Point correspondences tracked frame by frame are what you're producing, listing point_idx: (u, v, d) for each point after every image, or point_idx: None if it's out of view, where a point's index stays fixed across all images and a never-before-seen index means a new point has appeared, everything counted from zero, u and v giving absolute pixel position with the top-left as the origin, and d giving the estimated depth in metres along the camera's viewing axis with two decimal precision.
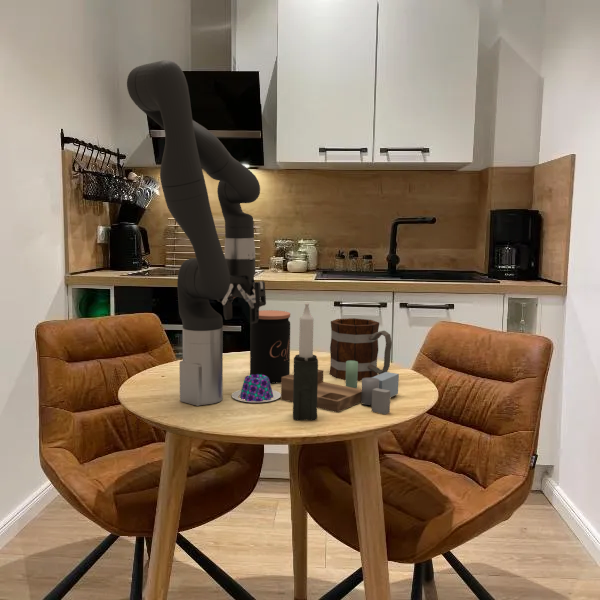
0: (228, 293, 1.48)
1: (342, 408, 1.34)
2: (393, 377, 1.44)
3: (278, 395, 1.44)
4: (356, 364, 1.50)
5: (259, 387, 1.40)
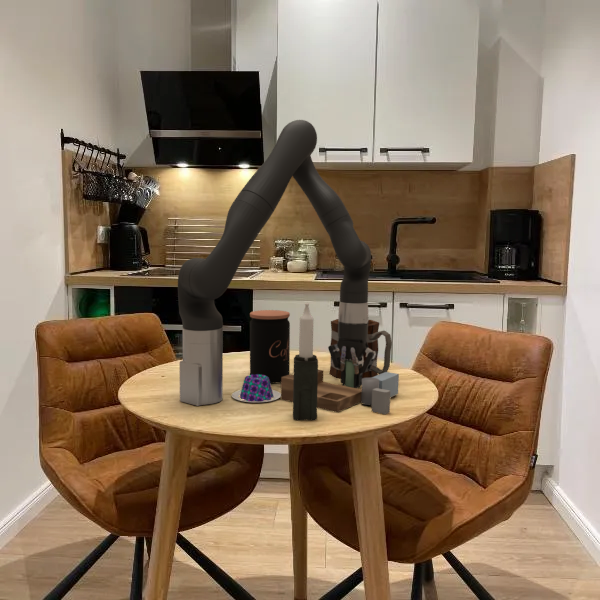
0: (343, 357, 1.51)
1: (342, 408, 1.34)
2: (393, 377, 1.44)
3: (278, 395, 1.44)
4: None
5: (260, 387, 1.40)
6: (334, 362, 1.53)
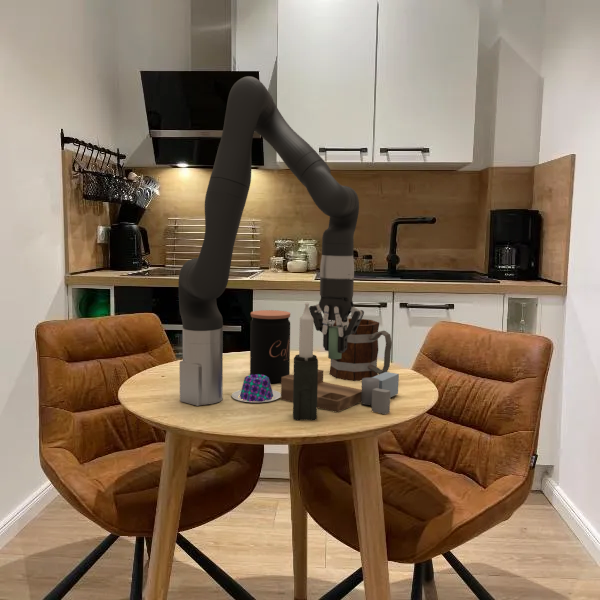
0: (326, 318, 1.34)
1: (342, 408, 1.34)
2: (393, 377, 1.44)
3: (278, 394, 1.45)
4: None
5: (261, 387, 1.40)
6: (316, 324, 1.36)
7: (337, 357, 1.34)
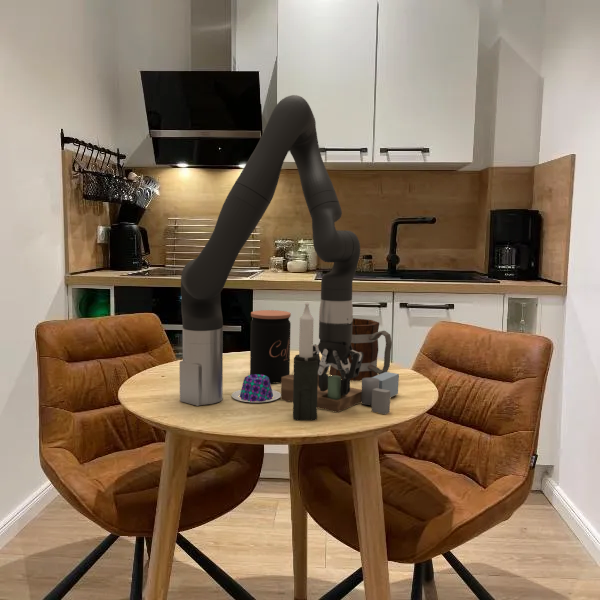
0: (323, 360, 1.35)
1: (342, 408, 1.34)
2: (393, 377, 1.44)
3: (277, 394, 1.45)
4: (339, 380, 1.35)
5: (262, 387, 1.40)
6: None
7: None
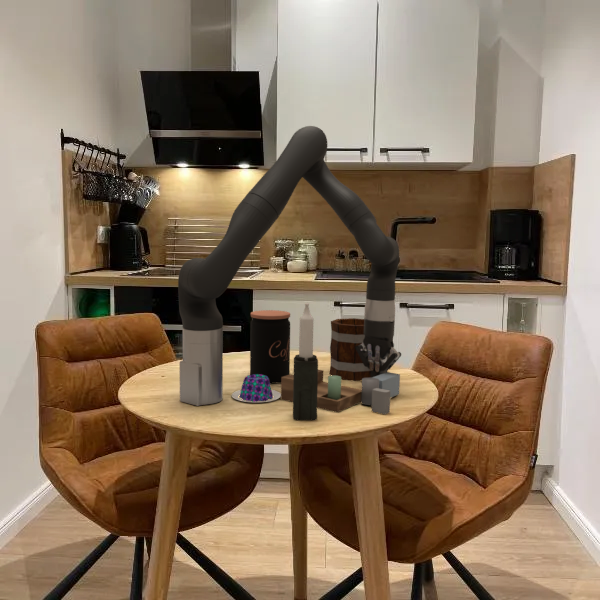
0: (370, 355, 1.48)
1: (342, 408, 1.34)
2: (394, 377, 1.44)
3: (276, 393, 1.46)
4: (339, 380, 1.35)
5: (264, 387, 1.41)
6: (363, 361, 1.50)
7: None
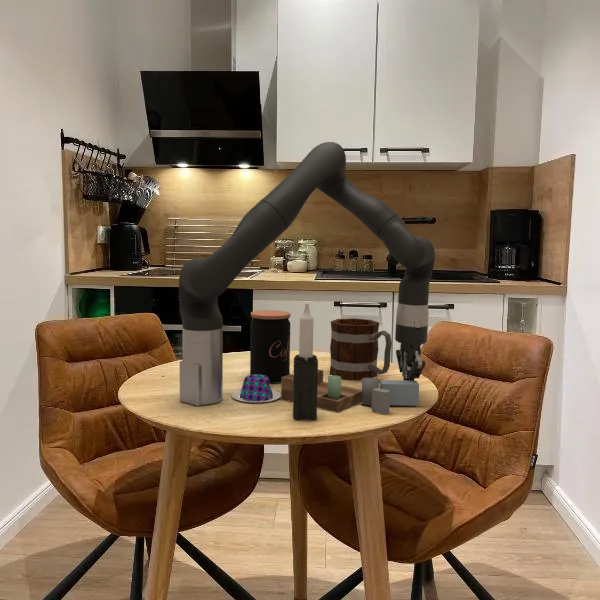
0: (401, 360, 1.43)
1: (342, 408, 1.34)
2: (406, 385, 1.37)
3: (275, 392, 1.46)
4: (339, 380, 1.35)
5: (265, 387, 1.41)
6: (399, 366, 1.45)
7: None
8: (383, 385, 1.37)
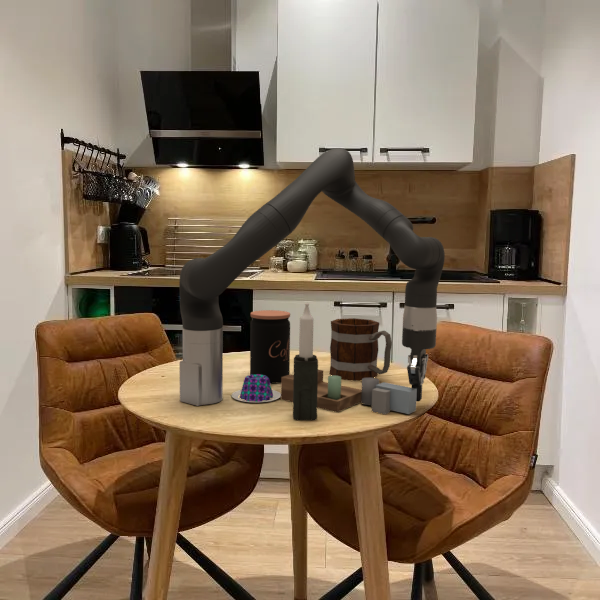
0: None
1: (342, 408, 1.34)
2: (398, 391, 1.32)
3: (273, 391, 1.47)
4: (339, 380, 1.35)
5: (267, 386, 1.41)
6: None
7: None
8: (377, 386, 1.35)
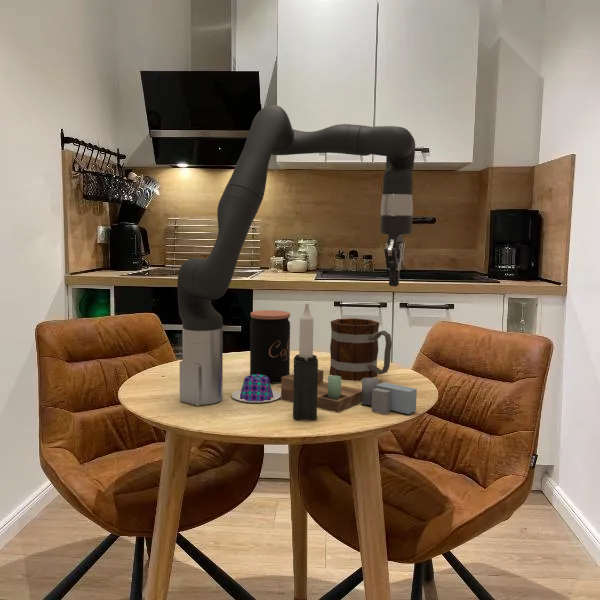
0: None
1: (342, 408, 1.34)
2: (398, 391, 1.32)
3: (272, 391, 1.47)
4: (339, 380, 1.35)
5: (267, 386, 1.41)
6: None
7: None
8: (377, 386, 1.35)
